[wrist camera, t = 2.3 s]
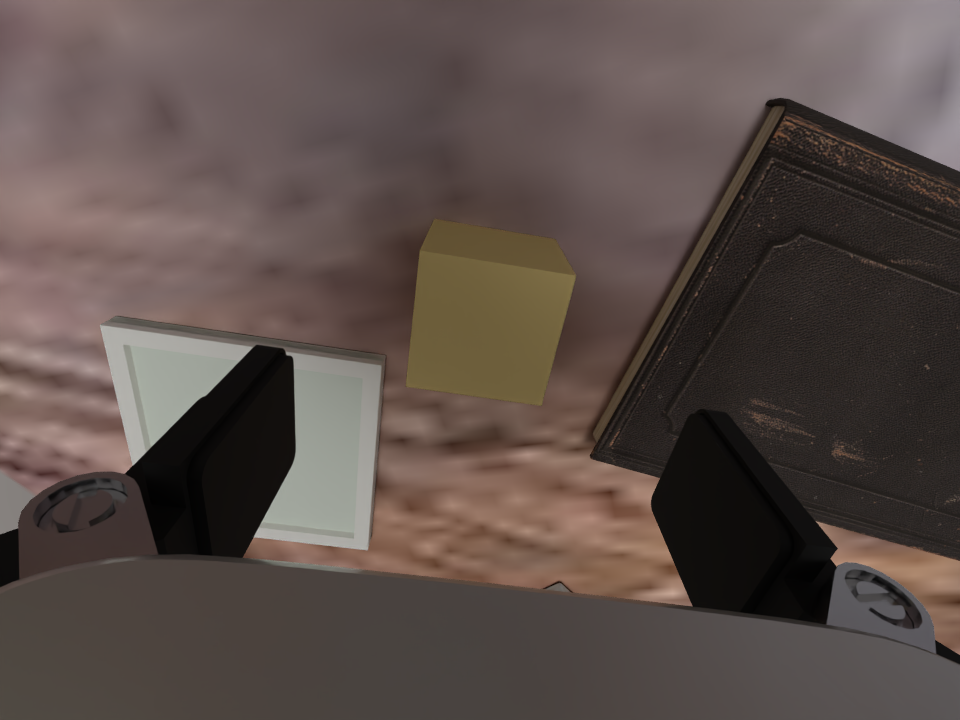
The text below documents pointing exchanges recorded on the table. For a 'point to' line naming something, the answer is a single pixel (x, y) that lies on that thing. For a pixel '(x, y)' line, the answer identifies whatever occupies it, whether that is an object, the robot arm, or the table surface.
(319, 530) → the mat
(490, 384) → the ochre cube
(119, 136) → the table surface
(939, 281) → the hardcover book
